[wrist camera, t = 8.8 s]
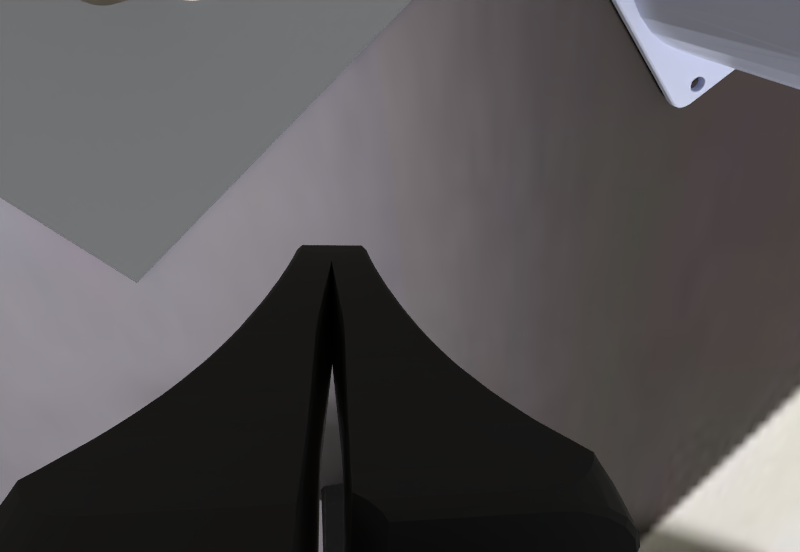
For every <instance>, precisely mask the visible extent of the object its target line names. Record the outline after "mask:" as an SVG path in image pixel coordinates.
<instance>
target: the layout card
mask: <svg viewBox="0 0 800 552" xmlns="http://www.w3.org/2000/svg"><path fill="white" fill-rule="evenodd" d="M410 1H411V0H126V1H123V2H120V3H116V4H113V5H107V6H98V5H92V4H88V3H86V2H83V1H81V0H0V198H2V199H4V200H5V201H7V202H8V203H10V204H12V205H13V206H15V207H16V208H18V209H20V210H21V211H23V212H24V213H26V214H28V215H29V216H31V217H32V218H34V219H36V220H37V221H39V222H40V223H42V224H44V225H45V226H47V227H48V228H50V229H52V230H53V231H55V232H56V233H58V234H60V235H61V236H63V237H64V238H66V239H68V240H69V241H71V242H72V243H74V244H76V245H77V246H79V247H80V248H82V249H84V250H85V251H87V252H88V253H90V254H92V255H93V256H95V257H96V258H98V259H100V260H101V261H103V262H104V263H106V264H108V265H109V266H111V267H112V268H114V269H116V270H117V271H119V272H120V273H122V274H124V275H125V276H127V277H128V278H130V279H132V280H133V281H135V282H136V283H137V282H138V281H139V280H140V279H141V278H142V277H143V276H144V275H145V274H146V273H147V272H148V271H149V270H150V269H151V268H152V267H153V266H154V265H155V264H156V263H157V262H158V261H159V260H160V259H161V257H162V256H163V255H164V254H165V253H166V252H167V251H168V250H169V249H170V248H171V247H172V246H173V245H174V244H175V243H176V242H177V241H178V240H179V239H180V238H181V237H182V236H183V235H184V234H185V233H186V232H187V231H188V230H189V229H190V228H191V227H192V226H193V225H194V224H195V223H196V221H197V220H198V219H199V218H200V217H201V216H202V215H203V214H204V213H205V212H206V211H207V210H208V209H209V208H210V207H211V206H212V205H213V204H214V203H215V202H216V201H217V200H218V199H219V198H220V197H221V196H222V195H223V194H224V193H225V192H226V191H227V190H228V189H229V188H230V186H231V185H232V184H233V183H234V182H235V181H236V180H237V179H238V178H239V177H240V176H241V175H242V174H243V173H244V172H245V171H246V170H247V169H248V168H249V167H250V166H251V165H252V164H253V163H254V162H255V161H256V160H257V159H258V158H259V157H260V156H261V155H262V154H263V153H264V152H265V150H266V149H267V148H268V147H269V146H270V145H271V144H272V143H273V142H274V141H275V140H276V139H277V138H278V137H279V136H280V135H281V134H282V133H283V132H284V131H285V130H286V129H287V128H288V127H289V126H290V125H291V124H292V123H293V122H294V121H295V120H296V119H297V118H298V117H299V116H300V114H301V113H302V112H303V111H304V110H305V109H306V108H307V107H308V106H309V105H310V104H311V103H312V102H313V101H314V100H315V99H316V98H317V97H318V96H319V95H320V94H321V93H322V92H323V91H324V90H325V89H326V88H327V87H328V86H329V85H330V84H331V83H332V82H333V81H334V79H335V78H336V77H337V76H338V75H339V74H340V73H341V72H342V71H343V70H344V69H345V68H346V67H347V66H348V65H349V64H350V63H351V62H352V61H353V60H354V59H355V58H356V57H357V56H358V55H359V54H360V53H361V52H362V51H363V50H364V49H365V48H366V47H367V46H368V45H369V43H370V42H371V41H372V40H373V39H374V38H375V37H376V36H377V35H378V34H379V33H380V32H381V31H382V30H383V29H384V28H385V27H386V26H387V25H388V24H389V23H390V22H391V21H392V20H393V19H394V18H395V17H396V16H397V15H398V14H399V13H400V12H401V11H402V10H403V9H404V7H405V6H406V5H407V4H408V3H409V2H410Z"/></svg>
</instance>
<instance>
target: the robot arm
mask: <svg viewBox="0 0 800 552" xmlns="http://www.w3.org/2000/svg"><path fill="white" fill-rule="evenodd" d="M612 2H613V4H614V6H615V7H616V9H617V11H618V13H619V15H620V16H621V18H622V20H623V22H624V24H625V25H626V27H627V29H628V31H629V33H630V34H631V36H632V38H633V40H634V42H635V43H636V45H637V47H638V49H639V51H640V53H641V54H642V56H643V58H644V60H645V62H646V63H647V65H648V67H649V69H650V71H651V72H652V74H653V76H654V78H655V80H656V81H657V83H658V85H659V87H660V89H661V90H662V92H663V94H664V96H665V98H666V99H667V101H668V102H669V103H670V104H671V105H673V106H675V107H679V108H680V107H685V106H687V105H689V104H690V103H692V102H693V101H694V100H695V99H697V98H698V97H699V96H701V95H702V94H703V93H705V92H706V91H707V90H708V89H710V88H711V87H712V86H714V85H715V84H716V83H718V82H719V81H720V80H721V79H723V78H724V77H725V76H727V75H728V74H729V73H731V72H732V71H733V70H734V69H738V70H741V71H744V72H747V73H750V74H753V75H756V76H759V77H762V78H765V79H769V80H772V81H775V82H778V83H781V84H784V85H787V86H790V87H793V88H796V89H799V90H800V0H612ZM697 77H698V79H699V80H698V83H697V85H696V86H695V87H694V88H692V89H691V87H690V86H691V83H692V81H693V80H694V79H695V78H697ZM332 365H333V375H334V384H335V394H336V404H337V413H338V423H339V432H340V442H341V451H342V465H343V506H344V552H638V550H639V548H640V541H639V532H638V529H637V527H636V526H635V524H634V522H633V520H632V518H631V516H630V514H629V512H628V510H627V508H626V506H625V504H624V502H623V500H622V498H621V496H620V495H619V493H618V491H617V489H616V487H615V486H614V484H613V482H612V481H611V479H610V478H609V476H608V475H607V473H606V471H605V470H604V468H603V467H602V465H601V464H600V462H599V461H598V459H597V457H596V455H595V454H594V452H592V451H590V450H588V449H587V448H585V447H583V446H581V445H579V444H578V443H576V442H574V441H572V440H570V439H568V438H567V437H565V436H563V435H561V434H559V433H558V432H556V431H554V430H552V429H550V428H548V427H547V426H545V425H543V424H541V423H539V422H538V421H536V420H534V419H533V418H531V417H529V416H528V415H526V414H525V413H523V412H522V411H520V410H519V409H517V408H515V407H514V406H512V405H511V404H509V403H508V402H506V401H505V400H503V399H502V398H500V397H499V396H497V395H496V394H495V393H493V392H492V391H490V390H489V389H487V388H486V387H485V386H484V385H482V384H481V383H480V382H478V381H477V380H476V379H475V378H473V377H472V376H471V375H469V374H468V373H467V372H466V371H464V370H463V369H462V368H460V367H459V366H458V365H457V364H456V363H454V362H453V361H452V360H451V359H450V358H449V357H448V356H447V355H446V354H445V353H444V352H442V351H441V350H440V349H439V348H438V347H437V346H436V345H435V344H434V343H433V342H432V341H431V340H430V339H429V338H428V337H427V336H426V334H425V333H424V332H423V331H422V330H421V329H420V328H419V327H418V326H417V324H416V323H415V322H414V321H413V320H412V319H411V317H410V316H409V315H408V314H407V313H406V311H405V310H404V309H403V308H402V306H401V305H400V304H399V302H398V301H397V300H396V298H395V297H394V295H393V294H392V293H391V291H390V290H389V289H388V287H387V286H386V284H385V283H384V281H383V280H382V278H381V276H380V275H379V273H378V272H377V270H376V268H375V267H374V265H373V263H372V261H371V259H370V257H369V255H368V253H367V251H366V250H365V249H364V248H363V247H362V246H336V245H302V246H301V247H300V248H299V249H298V250H297V251H296V253H295V255H294V257H293V259H292V260H291V262H290V264H289V265H288V267H287V268H286V270H285V271H284V273H283V274H282V276H281V277H280V279H279V280H278V282H277V283H276V284H275V286H274V287H273V288H272V290H271V291H270V292H269V294H268V295H267V296H266V298H265V299H264V300H263V301H262V303H261V304H260V305H259V306H258V307H257V308H256V310H255V311H254V312H253V313H252V314H251V315H250V316H249V318H248V319H247V320H246V321H245V322H244V323H243V324H242V326H241V327H240V328H239V329H238V330H237V331H236V332H235V333H234V334H233V335H232V336H231V337H230V338H229V339H228V340H227V341H226V342H225V343H224V344H223V345H222V346H221V347H220V348H219V349H218V350H217V351H215V352H214V353H213V354H212V355H211V356H210V357H209V358H208V359H207V360H206V361H204V362H203V363H202V364H201V365H200V366H198V367H197V368H196V369H195V370H194V371H192V372H191V373H190V374H189V375H187V376H186V377H185V378H184V379H182V380H181V381H180V382H178V383H177V384H176V385H175V386H173V387H172V388H171V389H169V390H168V391H167V392H165V393H164V394H163V395H161V396H160V397H158V398H157V399H155V400H154V401H153V402H151V403H150V404H148V405H147V406H145V407H144V408H142V409H141V410H139V411H138V412H136V413H135V414H133V415H132V416H130V417H128V418H127V419H125V420H124V421H122V422H121V423H119V424H118V425H116V426H114V427H113V428H111V429H110V430H108V431H106V432H105V433H103V434H101V435H100V436H98V437H96V438H95V439H93V440H91V441H89V442H87V443H86V444H84V445H82V446H80V447H78V448H77V449H75V450H73V451H71V452H69V453H68V454H66V455H64V456H62V457H60V458H59V459H57V460H55V461H53V462H51V463H50V464H48V465H46V466H44V467H42V468H41V469H39V470H37V471H35V472H33V473H31V474H29V475H27V476H26V477H24V478H22V479H20V480H18V481H17V482H16V484H15V485H14V487H13V488H12V490H11V491H10V493H9V494H8V495H7V497H6V498H5V500H4V501H3V502H2V504H1V505H0V552H318V546H319V499H320V470H321V457H322V448H323V439H324V431H325V422H326V414H327V405H328V397H329V388H330V379H331V371H332Z"/></svg>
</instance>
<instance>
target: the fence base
mask: <svg viewBox="0 0 800 552" xmlns="http://www.w3.org/2000/svg"><path fill="white" fill-rule="evenodd" d="M81 1H83V2H86V3H88V4H92V5H98V6H107V5H113V4H116V3H120V2H123V1H126V0H81Z"/></svg>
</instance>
